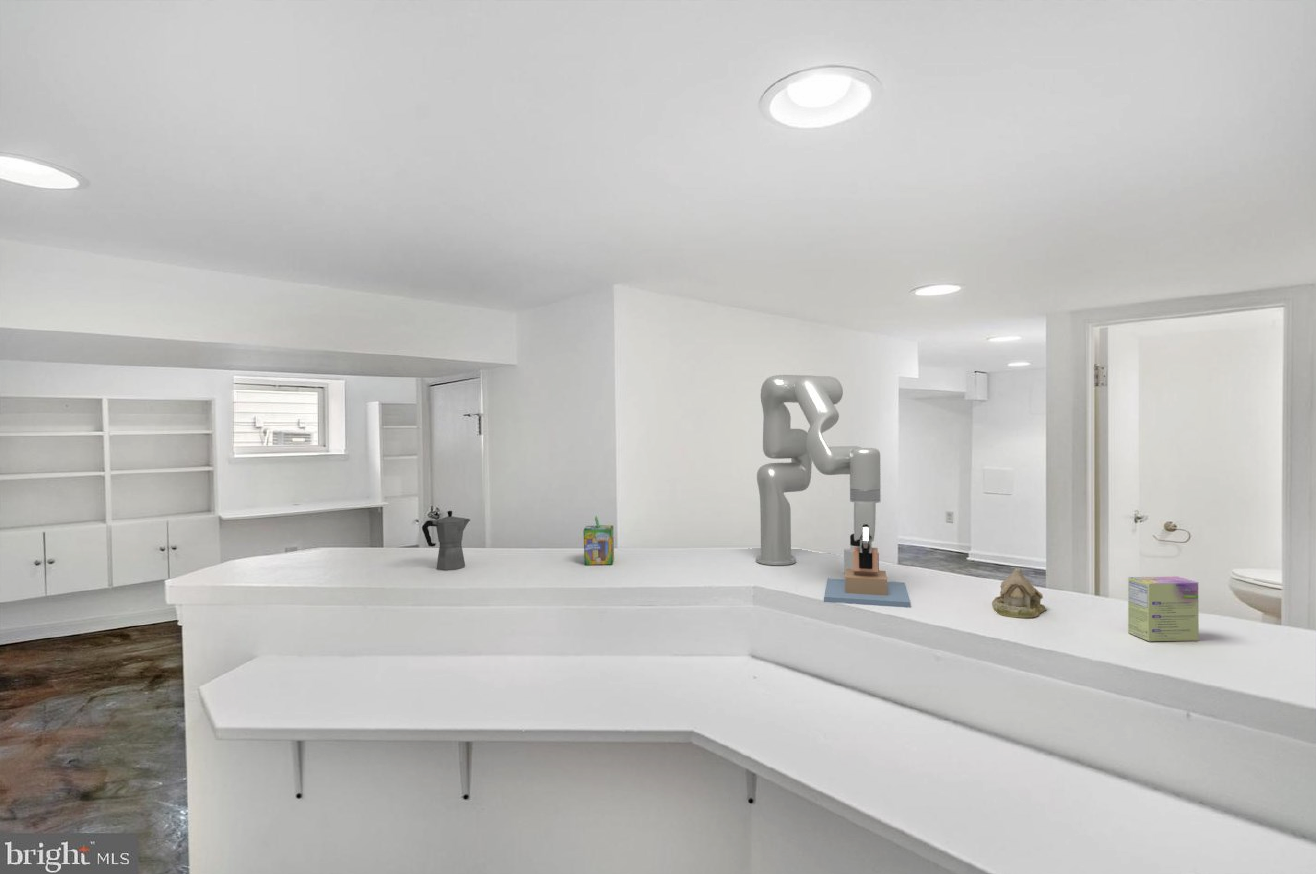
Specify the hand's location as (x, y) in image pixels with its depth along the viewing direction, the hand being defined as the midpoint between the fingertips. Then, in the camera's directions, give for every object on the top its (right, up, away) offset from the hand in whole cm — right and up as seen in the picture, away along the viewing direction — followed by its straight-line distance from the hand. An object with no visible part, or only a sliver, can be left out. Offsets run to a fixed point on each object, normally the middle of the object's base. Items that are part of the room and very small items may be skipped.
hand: (865, 565), depth 167 cm
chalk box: (-72, -8, +43) cm, 85 cm away
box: (+49, -8, -36) cm, 61 cm away
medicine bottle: (+6, -7, +21) cm, 23 cm away
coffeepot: (-120, -9, +38) cm, 126 cm away
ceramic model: (+31, -8, -16) cm, 35 cm away
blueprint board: (0, -7, 0) cm, 7 cm away
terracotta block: (0, -1, 0) cm, 1 cm away
